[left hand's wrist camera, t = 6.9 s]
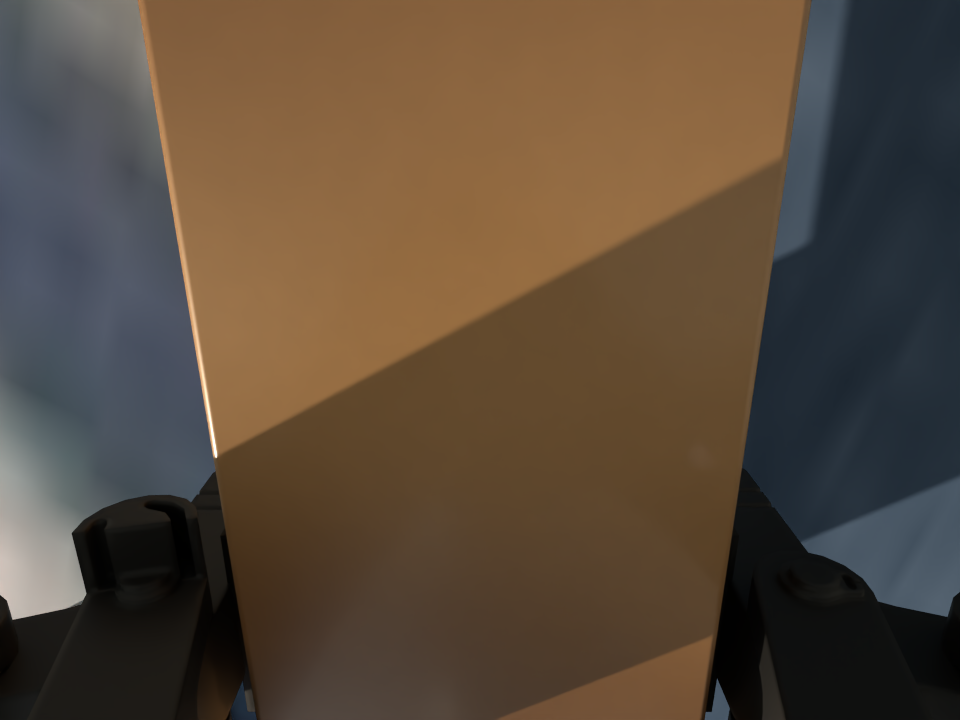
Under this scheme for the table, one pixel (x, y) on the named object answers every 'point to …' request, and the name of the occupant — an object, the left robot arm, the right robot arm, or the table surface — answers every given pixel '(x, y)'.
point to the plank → (477, 335)
